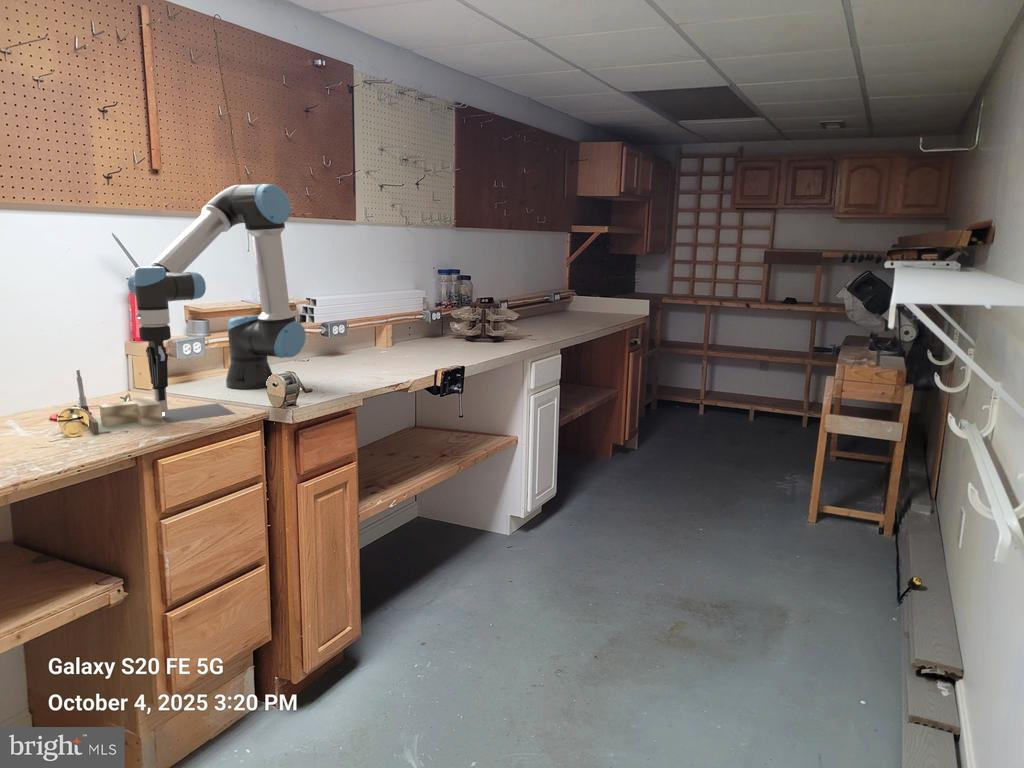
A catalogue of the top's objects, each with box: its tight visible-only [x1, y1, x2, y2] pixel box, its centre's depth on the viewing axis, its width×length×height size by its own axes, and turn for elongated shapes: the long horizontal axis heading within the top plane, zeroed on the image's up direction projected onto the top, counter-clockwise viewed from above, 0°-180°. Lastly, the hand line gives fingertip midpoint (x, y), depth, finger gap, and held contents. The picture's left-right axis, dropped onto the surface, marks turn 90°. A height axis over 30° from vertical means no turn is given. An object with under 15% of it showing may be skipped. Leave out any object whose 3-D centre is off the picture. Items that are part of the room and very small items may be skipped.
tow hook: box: [49, 368, 92, 422], centre depth 202 cm, size 8×13×9 cm
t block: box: [99, 395, 162, 426], centre depth 197 cm, size 13×12×5 cm
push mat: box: [85, 402, 236, 435], centre depth 202 cm, size 35×16×3 cm, turn 128°
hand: (161, 411), depth 202 cm, fingers closed
